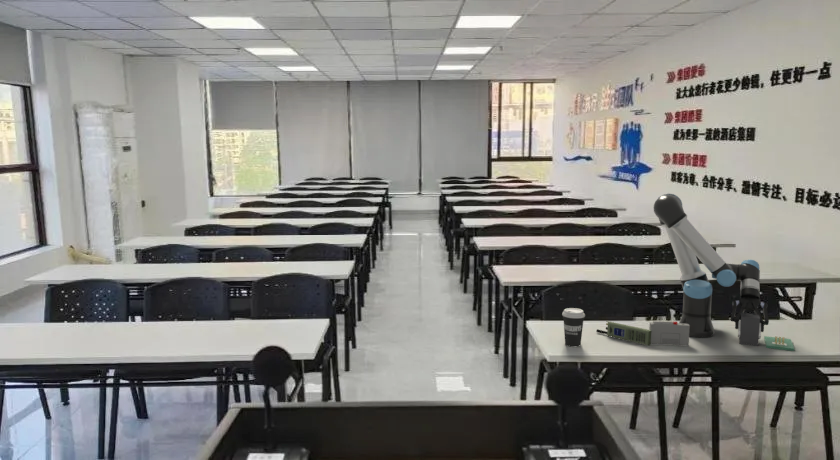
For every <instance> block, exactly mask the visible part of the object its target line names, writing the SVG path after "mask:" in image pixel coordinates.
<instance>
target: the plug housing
mask: <svg viewBox="0 0 840 460" xmlns="http://www.w3.org/2000/svg"><path fill="white" fill-rule="evenodd" d="M739 321H740V337H738V343H739V345H747V346H754V347H758V346H759V342H760V341H759V340H760V339H759V326H760V317H759V315H757V314H755V313H748V312H744V313H741V317H740V320H739Z"/></svg>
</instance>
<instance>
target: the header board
mask: <svg viewBox="0 0 840 460" xmlns="http://www.w3.org/2000/svg"><path fill="white" fill-rule="evenodd" d="M763 339H764V343H765V348H767V349H774V350H783V351H791V352H795V346H794V344H793V341H792V339H791V338H785V337H784V336H782V337H781V336H766V335H764V337H763Z"/></svg>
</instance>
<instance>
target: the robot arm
mask: <svg viewBox="0 0 840 460" xmlns="http://www.w3.org/2000/svg"><path fill="white" fill-rule="evenodd" d="M683 207H684V206H683V202H682V200H681V198H680V197H679V196H678V195H676V194H674V193H665V194H662V195H660V196H659V197H658V198H657V199H656V200H655V202H654V204H653V212H654V214H655V216H656V217H657V219H658V221H659V223H660V226H661V227H663V228H665V230H666V233H667V236H668V239H669V242H670V244H671V248H672V250H673V253H674V256H675V259H676V262H677V264H678V268H679V271H680V273H681V276H680V279H679V281H680V283H681V287H682V291H683V298H682V315H681V317H680V320H679V322H678V323H681V324H689V325H690V328H689V337H692V338H693V337H694V338H711V337H713V336H714V334H715V329H714V324H713V322H712V318H711V315H712V299H713V296H712V295H713V291H714V290H713V285H712V283H710V281H709V279H708V276H707V273H706V272H705V271H704V270H702V269H701V267H700V264H699V261H700V262H701V263H702V264H703V265H704V266H705V268H706V269H707V270H708V271H709V272H710V273H711V278H712V279H715V280H716V281H717V283H718V284H719V285H720V286H722V287H725V288H726V287H728V288H729V287H731V286H733V285H734V284H735V283H736V281H737V282H738V281H739V282H740V289H739V290H740V293H739V294H740V296H739V300H736V299H732V303H731V304H732V312H731V314H730V315H731V316H730V321H731V322H734V324H735V325H734V327H735V330H737V338H739V337H740V317H741V313H746V312H745V311H753V314H757V315H759V317H760V326H759V340H761V338H762V333H764V331H765V326H768V325H769V322H770V320H769V314H768V306H769V305H768V303H767V302H762V301H761V300H760V297H761V296H760V295H761V294H760V291H761V290H760V282H761V281H760V280H761V279H760V277H761V275H760V274H761V273H760V272H761V269H760V263H759V262H758V261H757V260H755V259H744V260H743V261H741V262H740V263H741V264H740V263H739V264H735V263H727V262H726V261H725V260H724V259H723V258H722V257H721V256H720V255H719V253H718V252H717V251H716V250H715V249H714V248H713V247H712V246H711V244H710V243H709V242H708V241H707V240H706V239H705V237H704V236H703V235H702V234H701V233H700V231H698V229H697V228H695V226H694V225H693V224H692V223H691V222H690V221H689V219H688V215H687V214H686V213H685V211H684V208H683ZM739 305H740V306H741V308H740V310H739V312H738V314H737V315H736V312H737V311H736V310H737V306H739ZM759 307H761V308H762V313H763V317H762V315H761V312H760V310H759ZM735 316H736V317H735ZM763 318H764V319H763Z"/></svg>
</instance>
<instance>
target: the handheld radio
mask: <svg viewBox="0 0 840 460" xmlns="http://www.w3.org/2000/svg"><path fill="white" fill-rule="evenodd" d="M605 325H606V327H605V330H601V329H596V333H599V334H604V335H605V334H606V336H607V335H608V336H607V337H609V336H612V337H611V338H613V337H615V338H614V339H618V338H620V339H619V340H622V339H624V340H623V341H626V340H627V342H631V343H636V344H641V345H645V346H647V347H648V346H650V345H652V344H651V330H649V329H647V328H642V327H637V326H633V325H629V324H628V325H627V324H624V323H623V324H622V323H620V322H619V323H618V322H614V321H613V322H612V321H609V320H607V321H606V324H605ZM606 330H607V331H606Z"/></svg>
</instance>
